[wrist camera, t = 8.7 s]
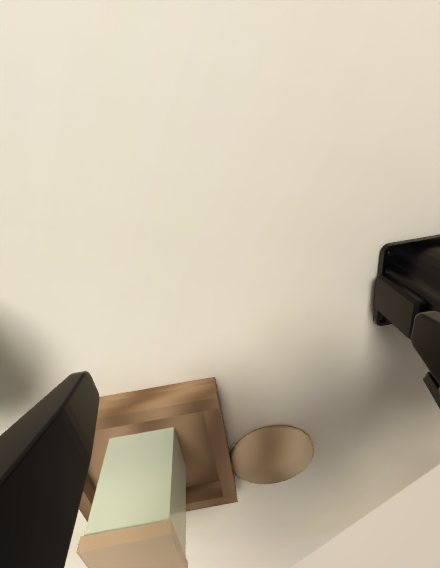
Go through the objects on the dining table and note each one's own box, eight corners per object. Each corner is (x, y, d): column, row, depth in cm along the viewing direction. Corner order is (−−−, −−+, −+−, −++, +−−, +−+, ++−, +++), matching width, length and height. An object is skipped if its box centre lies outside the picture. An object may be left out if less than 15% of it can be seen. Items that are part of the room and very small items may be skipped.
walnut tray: (214, 377, 24) (216, 397, 22) (234, 479, 31) (237, 501, 29) (41, 407, 24) (28, 430, 22) (97, 504, 30) (91, 528, 28)
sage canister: (175, 425, 25) (170, 534, 19) (187, 467, 28) (187, 576, 21) (107, 437, 25) (76, 552, 18) (126, 478, 28) (105, 592, 21)
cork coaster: (298, 414, 27) (300, 418, 27) (320, 462, 31) (322, 467, 30) (217, 444, 28) (218, 449, 28) (247, 488, 31) (248, 493, 31)
